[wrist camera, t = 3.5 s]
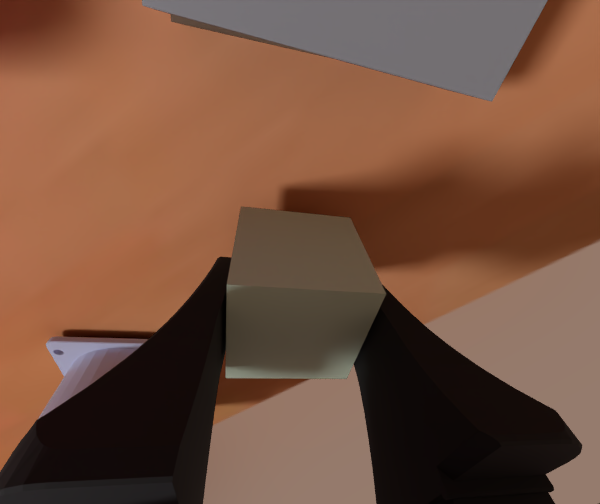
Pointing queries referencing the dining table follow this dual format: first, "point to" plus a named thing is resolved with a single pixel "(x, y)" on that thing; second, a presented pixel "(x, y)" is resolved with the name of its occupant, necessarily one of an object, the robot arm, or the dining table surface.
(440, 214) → the dining table surface
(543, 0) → the slate top slab
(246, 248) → the sage cube
